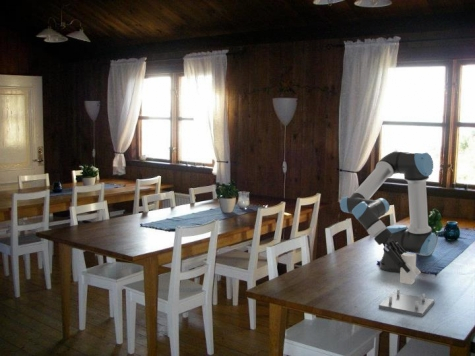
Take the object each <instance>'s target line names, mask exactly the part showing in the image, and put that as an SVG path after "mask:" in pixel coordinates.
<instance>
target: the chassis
mask: <svg viewBox="0 0 475 356" xmlns="http://www.w3.org/2000/svg"><path fill="white" fill-rule="evenodd" d="M400 292H401V290H400V289H399V288H398V289H396V292H395V291H393V292H392V293H390V295H389V296H387V297H386V298H385V299H384V300H383V301H382V302H380V304H378V309H380V310H386V311H389V312H395V313H399V314H405V315H409V316H414V317H419V318H423V317H424V316H425V314H426V313H428V311H429V310H430V309H431V308H432V306H434V304H435V299H433V298H429V297H428V298H427V297H426V294H425V293H422V296H417V295H411V294H406V293H400Z"/></svg>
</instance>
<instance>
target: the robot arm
mask: <svg viewBox="0 0 475 356" xmlns="http://www.w3.org/2000/svg"><path fill="white" fill-rule="evenodd" d="M433 169H434V161H433V158H432V156H431V155H430V154H429V153H428V152H426V151H419V150H395V151H392V152H390V153H388V154H387V155H384V156H383V157H382V158H380V160H378V161H377V163H376V165H375V168H374V169H373V170H372V172H371V173H370V174H369V175H368V176H367V177H366V179H365V180H364V181H363V182H362V183H361V184H360V185H359V187H358V188H356V190H355V191H354V192H353V193H352V194H351V195H350V196H343V197H341V199H340V202H339V207H340V210H341V211H342V212H343V213H348V214H352V215H353V216H354V217H355V219H356V220H357V221H358V222H359V223H360V225H362V226H363V228H364V229H365V231H366V232H367V234H368V235H370V236H371V238H374V239H373V240H374V241H375V242H376V244H377V245H379V246H381V245H383V249H382V250H383V255H382V257H381V260H380V263H379V268H380V269H381V270H384V271H386V272H392V273H394V272H395V273H400V268H401V267H402V268H403V269H404V271H405V272H406V273H407V274H408V275H409V276H410V278H411V279H412V280H413V279H414V278H415V279H416V277H418V276H419V275H420V274H421V273H422V272H421V270H420V269H419V267H417V266H416V271H415V272H414V271H413V270H412V269H411V267H410V266H409V265H408V264H406V263H405V262H404V260H403V259H402V257H401V255H402V254H403V253H411V254H416V255H420V256H429V255H431V254H432V253H433V252H434V250H435V248H436V245H437V240H438V238H437V235H436V233H434V232H432V227H431V226H430V225H429V219H428V218H429V217H428V216H429V215H428V199H427V197H428V196H427V180H429V178H430V176H431V175H432V173H433V172H434V171H433ZM395 174H403V176H404V180H405V181H406V182H407V193H408V207H409V224H410V226H408V225H405V224H404V225H403V224H399V225H398V224H397V225H389V226H386V225H385V223H384V222H383V221H382V220H381V219H380V218H381V217H383V216H384V215H386V214H387V213H388V212H389V210H390V204H389V202H388V201H387V199H385V198H383V197H380V198H376V199H371V198H372V197H373V196H374V194H375V193H376V192H377V191H378V190H379V188H380V187H381V186H382V185H383V184H384V182H386V181H387V180H388V178H391V177H392V176H393V175H395Z"/></svg>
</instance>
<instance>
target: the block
mask: <svg viewBox="0 0 475 356" xmlns="http://www.w3.org/2000/svg"><path fill="white" fill-rule="evenodd" d="M401 257H402V259H403V260H404V262H405V263H406V264H408V265H409V266H410V267H411V269H412V270H413V271H414V272H415V271H416V267H417V266H416V265H417V254H416V253H411V252H407V253H403V254H402V255H401ZM415 282H416V277H415V278H414V279H413V280H412V279H411V278H410V276H409V275H408V274H407V273H406V272H405V271H404V269H403V268H402V267H401V268H400V272H399V283H402V284H407V285H413V284H414V283H415Z"/></svg>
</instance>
